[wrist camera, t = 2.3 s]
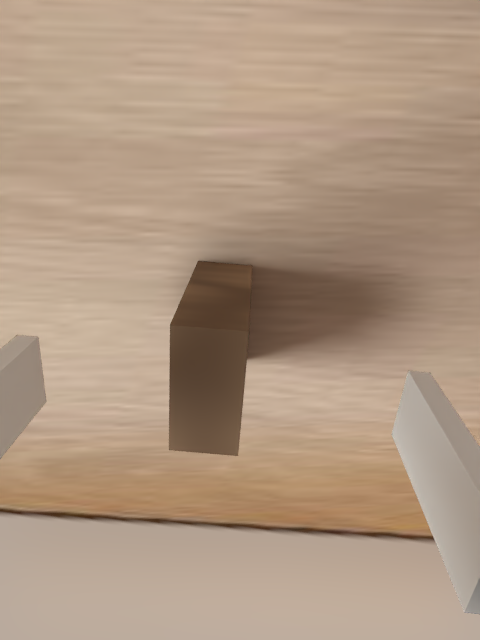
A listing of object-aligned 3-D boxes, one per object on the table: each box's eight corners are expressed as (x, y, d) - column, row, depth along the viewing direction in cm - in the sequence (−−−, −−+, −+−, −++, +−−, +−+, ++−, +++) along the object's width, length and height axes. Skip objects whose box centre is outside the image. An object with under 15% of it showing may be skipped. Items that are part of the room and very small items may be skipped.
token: (194, 356, 22) (168, 449, 16) (198, 261, 20) (170, 325, 14) (243, 360, 22) (237, 455, 16) (252, 265, 20) (249, 331, 14)
